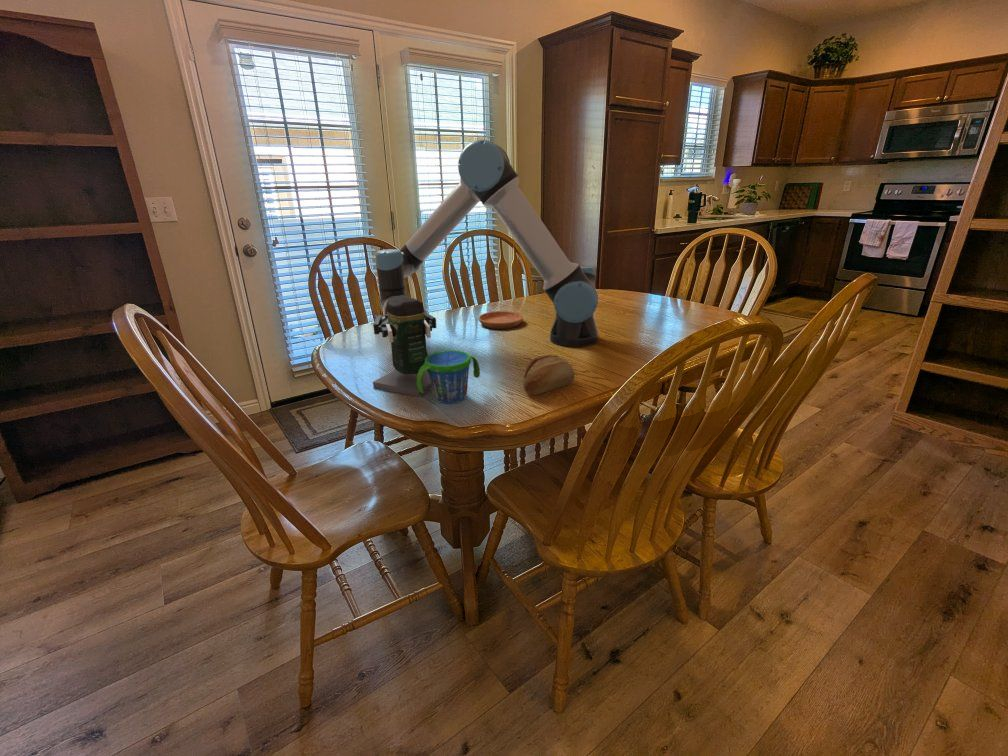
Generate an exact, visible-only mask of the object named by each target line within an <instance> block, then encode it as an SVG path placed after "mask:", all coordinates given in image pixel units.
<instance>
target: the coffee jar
mask: <svg viewBox="0 0 1008 756" xmlns="http://www.w3.org/2000/svg"><path fill="white" fill-rule="evenodd" d="M424 310H425V308H424V304H423V301H422V300H419V299H416V298H413V297H410V296H407V294H406V295H401V296H393V297H390V299H389V300H388V301H387V315H388V320H389V325H390V327H391V330H392V335H393V342H390V345H391V360H392V367H393V369H394V370H397V371H399V372H400V373H402V374H418V371H419V369H420V367H421V366H422V365H423V364H424V363H425V358H426V357H427V356H429V355H428V347H427V341H426V340H427V339H426V338H427V336H426V334H425V328H424Z"/></svg>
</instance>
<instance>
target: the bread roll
mask: <svg viewBox="0 0 1008 756" xmlns="http://www.w3.org/2000/svg"><path fill="white" fill-rule="evenodd" d="M525 367H526V368H525V369H524V372H523V379H522V384H523V385H522V386H523V389H524V391H525V393H527V394H528V395H531V396H532V395H533V396H534V395H536V396H537V395H540V394H543V393H546V392H550V391H553V390H555V389H556V390H557V389H558V388H562V387H566V386H568V385H571V384H572V383H573V382H574V380H575V372H574V368H573V367H572V365H571V364H570V363H569V361H567V360H566V359H564V358H563V357H560V356H558V355H555V354H554V355H553V354H544V355H540V356H537V357H534V359H531V361H530V362H529V363H527V365H526V366H525Z"/></svg>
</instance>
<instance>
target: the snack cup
mask: <svg viewBox="0 0 1008 756" xmlns="http://www.w3.org/2000/svg"><path fill="white" fill-rule="evenodd" d="M471 362H472V366H473V368H472V369H473V371H472V372H473V373H472V375H473V377H475V378H476V379H479V377H480V375H481V370H480V365H479V362H478V360H477V358H476V357H474V356H473V355H470V354H469V353H468V352H465V351H462V350H454V349H453V350H452V349H451V350H448V349H447V350H442V351H436V352H433V353H430V354H429V355H428V356H427V357H426V358H425V363H424V364H423V365H422V366H421V367H420V369H419V371H418V375H417V387H418V390H419V391H420V392H421V393H424V391H423V387H422V383H421V377H422V375H423V374H424V372H425V371H426V370H427V371H428V373H429V377H430V380H431V385H432V389H431V390H432V392H433V396H434V398H435V399H436V400H435V401H436V402H439V403H442V404H443V403H444V404H453V403H458V402H461V401H463V400H465V399H466V397H467V393H468V386H469V385H468V384H469V374H470V373H469V371H470V366H471ZM424 394H425V393H424Z"/></svg>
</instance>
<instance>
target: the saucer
mask: <svg viewBox="0 0 1008 756" xmlns="http://www.w3.org/2000/svg"><path fill="white" fill-rule="evenodd" d="M478 321H479V323H480V324H482V325H483V326H484V327H486V328H488V329H492V330H493V329H494V330H495V329H496V330H505V329H506V330H507V329H512V328H515V327H517V326H519V325H520V324H521V323H522V322H523V321H524V315H523V314H521V313H519V312H515V311H508V310H499V311H498V310H496V311H489V312H484V313H482V314H480V315H479V316H478Z"/></svg>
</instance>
